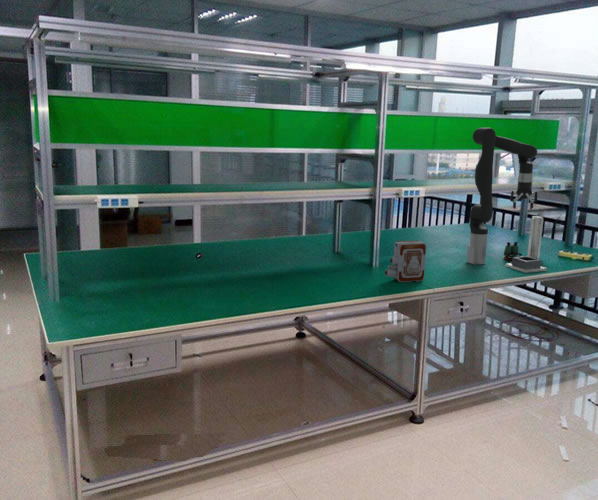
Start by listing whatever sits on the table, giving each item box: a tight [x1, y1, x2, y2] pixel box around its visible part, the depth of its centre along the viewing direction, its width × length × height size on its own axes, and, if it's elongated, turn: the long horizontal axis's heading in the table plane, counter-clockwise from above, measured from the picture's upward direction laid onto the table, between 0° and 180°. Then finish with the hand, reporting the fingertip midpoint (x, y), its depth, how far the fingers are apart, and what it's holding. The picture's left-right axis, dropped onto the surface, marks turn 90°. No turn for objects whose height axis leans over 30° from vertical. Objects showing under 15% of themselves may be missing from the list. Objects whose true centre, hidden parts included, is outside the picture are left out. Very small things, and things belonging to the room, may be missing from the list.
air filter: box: [527, 215, 544, 260], centre depth 328 cm, size 6×6×25 cm
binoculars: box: [503, 241, 523, 262], centre depth 323 cm, size 9×11×10 cm
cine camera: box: [384, 240, 427, 283], centre depth 274 cm, size 9×19×20 cm, turn 103°
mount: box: [504, 255, 548, 274], centre depth 304 cm, size 15×15×6 cm
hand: (522, 209), depth 320 cm, fingers open, 8 cm apart
